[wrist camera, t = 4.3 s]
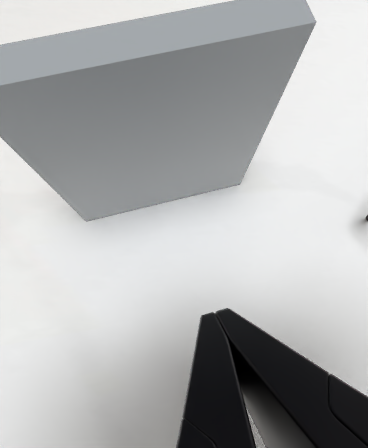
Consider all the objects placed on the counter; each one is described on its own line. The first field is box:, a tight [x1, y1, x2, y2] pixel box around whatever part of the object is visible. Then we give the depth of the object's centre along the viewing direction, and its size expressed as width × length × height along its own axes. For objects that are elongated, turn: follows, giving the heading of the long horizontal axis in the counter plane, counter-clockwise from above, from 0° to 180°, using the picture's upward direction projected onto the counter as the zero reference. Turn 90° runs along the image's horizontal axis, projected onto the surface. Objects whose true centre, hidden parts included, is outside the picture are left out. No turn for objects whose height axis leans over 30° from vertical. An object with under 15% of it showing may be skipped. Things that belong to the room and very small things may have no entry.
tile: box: [0, 0, 316, 221], centre depth 17 cm, size 2×12×14 cm, turn 104°
